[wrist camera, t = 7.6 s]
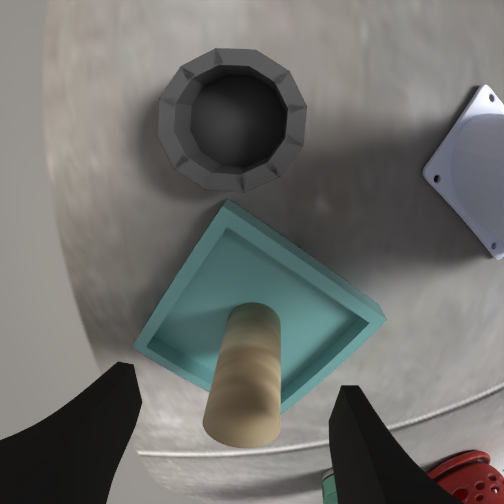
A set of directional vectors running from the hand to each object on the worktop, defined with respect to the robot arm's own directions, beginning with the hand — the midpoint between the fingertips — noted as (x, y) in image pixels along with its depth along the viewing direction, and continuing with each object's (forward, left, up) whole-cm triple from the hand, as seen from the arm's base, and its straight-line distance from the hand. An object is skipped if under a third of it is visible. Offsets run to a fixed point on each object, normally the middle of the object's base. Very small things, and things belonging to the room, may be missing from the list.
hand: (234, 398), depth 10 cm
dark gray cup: (+6, -7, -10) cm, 14 cm away
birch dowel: (-2, +3, -10) cm, 11 cm away
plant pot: (-39, +9, -11) cm, 42 cm away
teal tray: (-2, +3, -10) cm, 11 cm away
